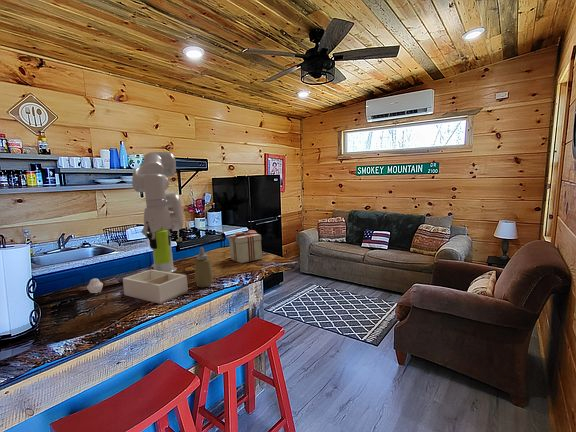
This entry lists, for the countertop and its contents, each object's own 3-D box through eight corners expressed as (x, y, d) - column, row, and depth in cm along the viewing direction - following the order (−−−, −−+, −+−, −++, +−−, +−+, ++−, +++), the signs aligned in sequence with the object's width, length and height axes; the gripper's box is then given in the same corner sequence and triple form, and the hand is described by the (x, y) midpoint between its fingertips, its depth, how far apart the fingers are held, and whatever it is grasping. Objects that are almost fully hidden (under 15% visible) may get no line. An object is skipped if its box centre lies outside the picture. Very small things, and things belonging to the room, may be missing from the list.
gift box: (248, 254, 198) (246, 227, 195) (264, 258, 183) (262, 230, 181) (224, 259, 187) (222, 231, 185) (239, 264, 173) (237, 235, 171)
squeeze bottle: (195, 289, 136) (191, 250, 133) (195, 283, 143) (192, 246, 141) (214, 287, 138) (210, 248, 135) (213, 281, 145) (210, 244, 143)
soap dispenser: (164, 259, 133) (160, 213, 130) (173, 261, 128) (168, 214, 126) (151, 262, 128) (146, 215, 126) (159, 264, 124) (155, 215, 122)
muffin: (106, 292, 138) (104, 277, 137) (92, 296, 133) (90, 281, 132) (99, 290, 141) (97, 275, 140) (85, 294, 136) (83, 279, 135)
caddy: (124, 295, 133) (122, 278, 132) (152, 284, 145) (151, 269, 144) (160, 303, 121) (158, 285, 120) (188, 291, 133) (186, 275, 132)
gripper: (167, 202, 135) (171, 242, 137) (131, 206, 120) (136, 250, 122) (179, 202, 131) (183, 243, 133) (143, 206, 116) (148, 252, 118)
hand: (160, 246), depth 128 cm, fingers closed on soap dispenser, 5 cm apart
